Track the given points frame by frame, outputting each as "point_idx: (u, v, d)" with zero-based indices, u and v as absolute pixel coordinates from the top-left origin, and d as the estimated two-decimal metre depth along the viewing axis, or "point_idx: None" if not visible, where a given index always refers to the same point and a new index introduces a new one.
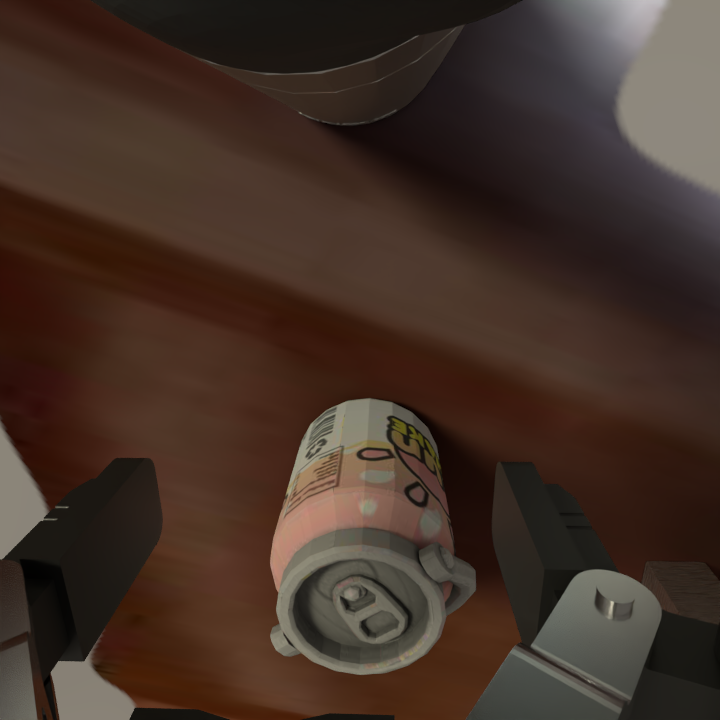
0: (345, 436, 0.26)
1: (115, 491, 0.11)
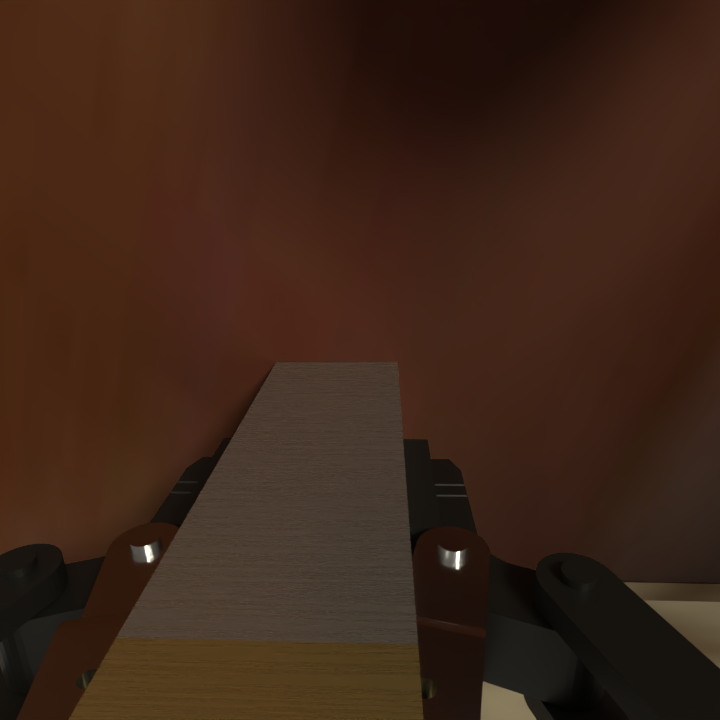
0: None
1: None
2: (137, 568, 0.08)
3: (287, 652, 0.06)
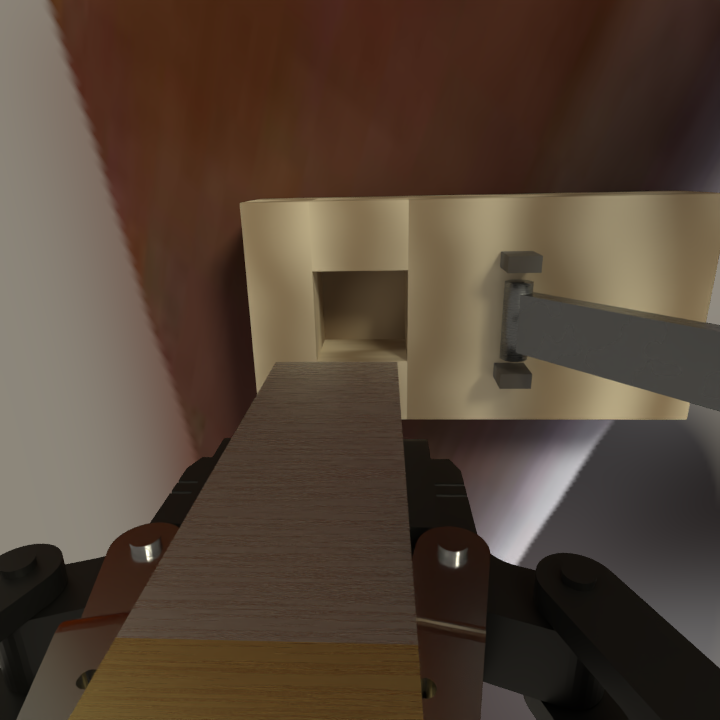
0: None
1: None
2: (137, 568, 0.08)
3: (287, 653, 0.06)
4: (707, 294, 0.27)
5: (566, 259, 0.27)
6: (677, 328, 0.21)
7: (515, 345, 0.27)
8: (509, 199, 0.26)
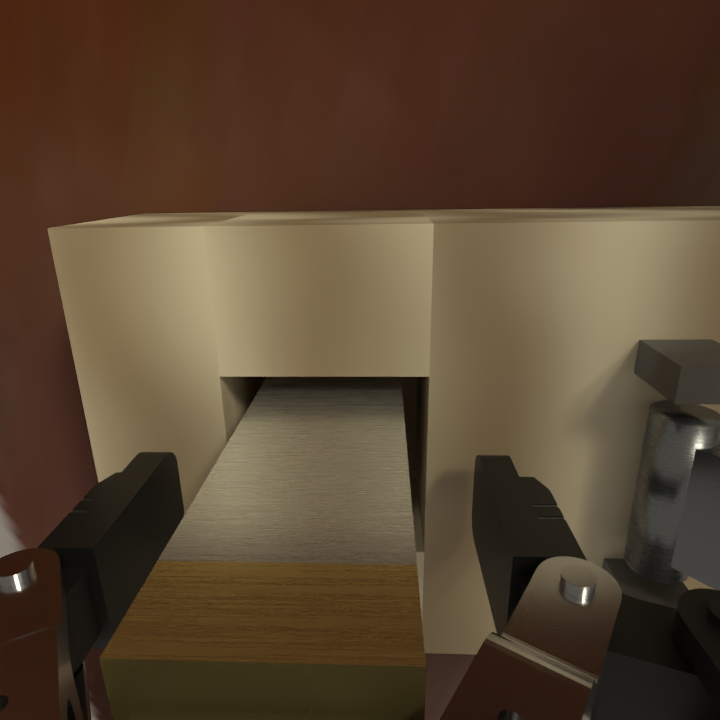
0: None
1: (142, 483, 0.11)
2: None
3: (305, 571, 0.07)
4: None
5: None
6: None
7: (672, 552, 0.12)
8: (669, 224, 0.11)
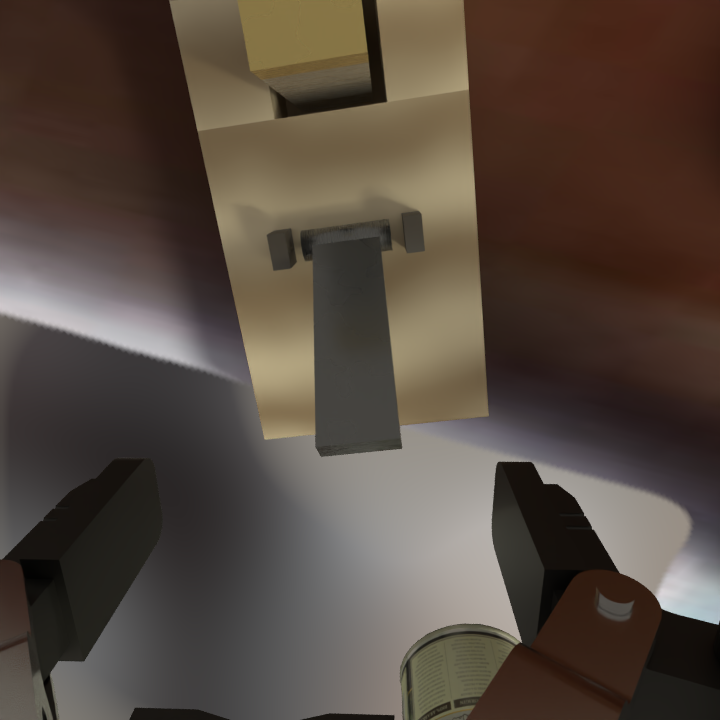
0: None
1: (115, 491, 0.11)
2: None
3: None
4: None
5: (415, 282, 0.26)
6: (390, 383, 0.20)
7: (321, 243, 0.24)
8: (474, 208, 0.24)
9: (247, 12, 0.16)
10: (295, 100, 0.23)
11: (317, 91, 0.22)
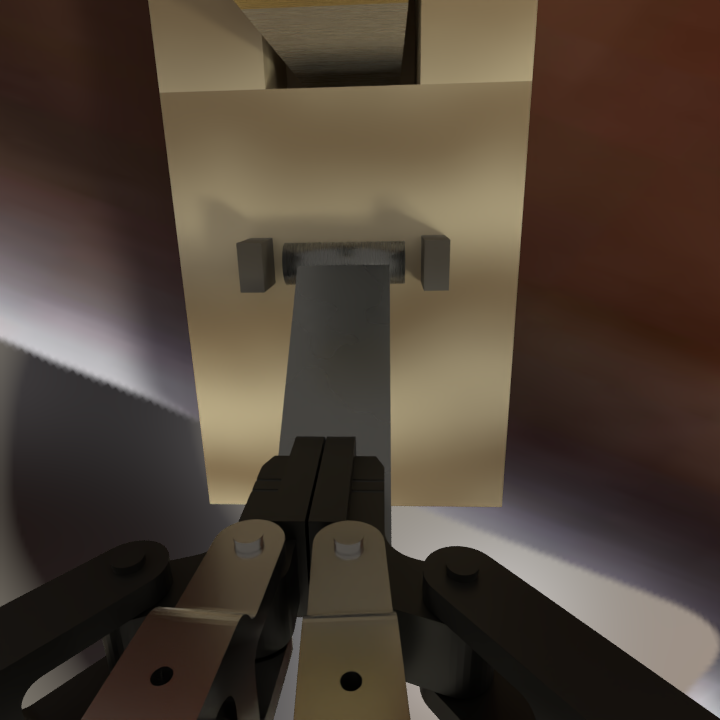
0: None
1: (316, 464, 0.12)
2: (246, 565, 0.08)
3: None
4: None
5: (428, 327, 0.19)
6: (385, 489, 0.14)
7: (309, 264, 0.17)
8: (518, 240, 0.18)
9: None
10: (296, 67, 0.17)
11: (327, 54, 0.15)
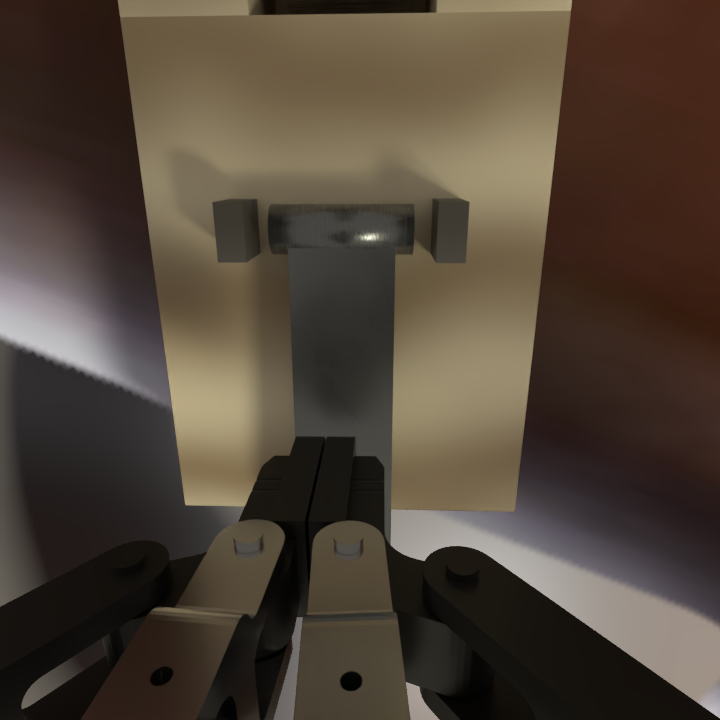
0: None
1: (316, 464, 0.12)
2: (246, 565, 0.08)
3: None
4: None
5: (438, 307, 0.17)
6: (386, 485, 0.17)
7: (301, 246, 0.15)
8: (545, 206, 0.16)
9: None
10: None
11: None
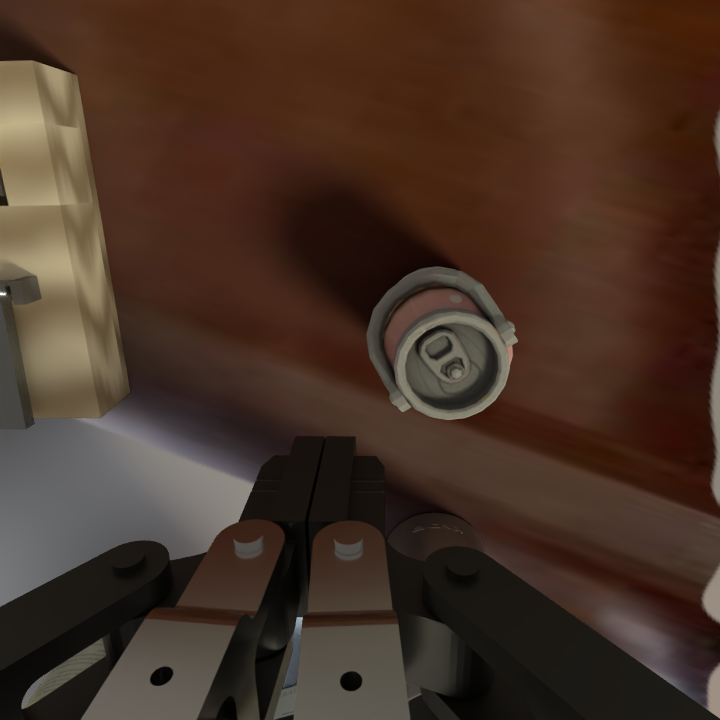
0: None
1: (316, 464, 0.12)
2: (247, 565, 0.08)
3: None
4: (36, 415, 0.40)
5: (40, 322, 0.38)
6: (18, 400, 0.38)
7: None
8: (73, 279, 0.37)
9: None
10: None
11: None
